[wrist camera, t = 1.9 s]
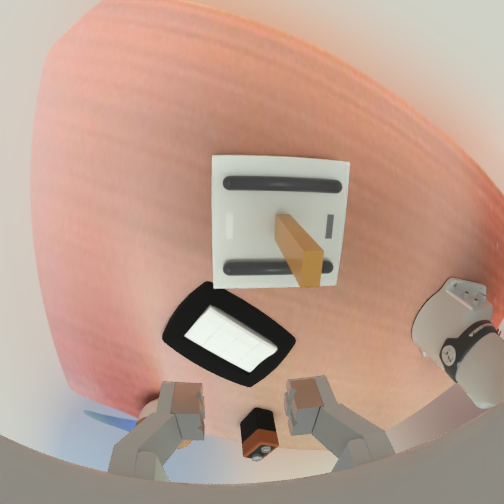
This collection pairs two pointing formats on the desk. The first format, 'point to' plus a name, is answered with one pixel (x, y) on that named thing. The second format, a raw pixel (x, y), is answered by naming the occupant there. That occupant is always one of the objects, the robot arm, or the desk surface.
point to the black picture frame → (227, 336)
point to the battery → (258, 434)
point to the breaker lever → (299, 251)
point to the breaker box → (274, 216)
